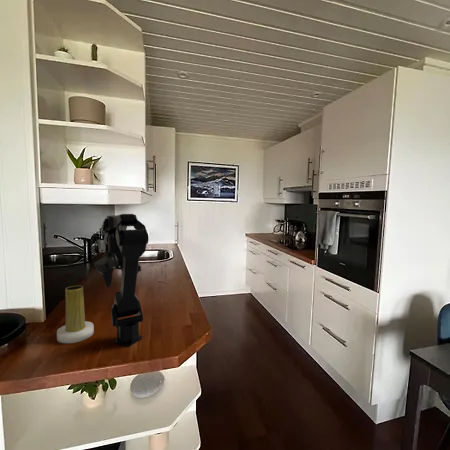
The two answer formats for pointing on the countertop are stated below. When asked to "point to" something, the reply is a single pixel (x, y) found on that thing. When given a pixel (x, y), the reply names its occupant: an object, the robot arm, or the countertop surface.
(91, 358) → the countertop surface
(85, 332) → the plinth
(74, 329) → the vase
